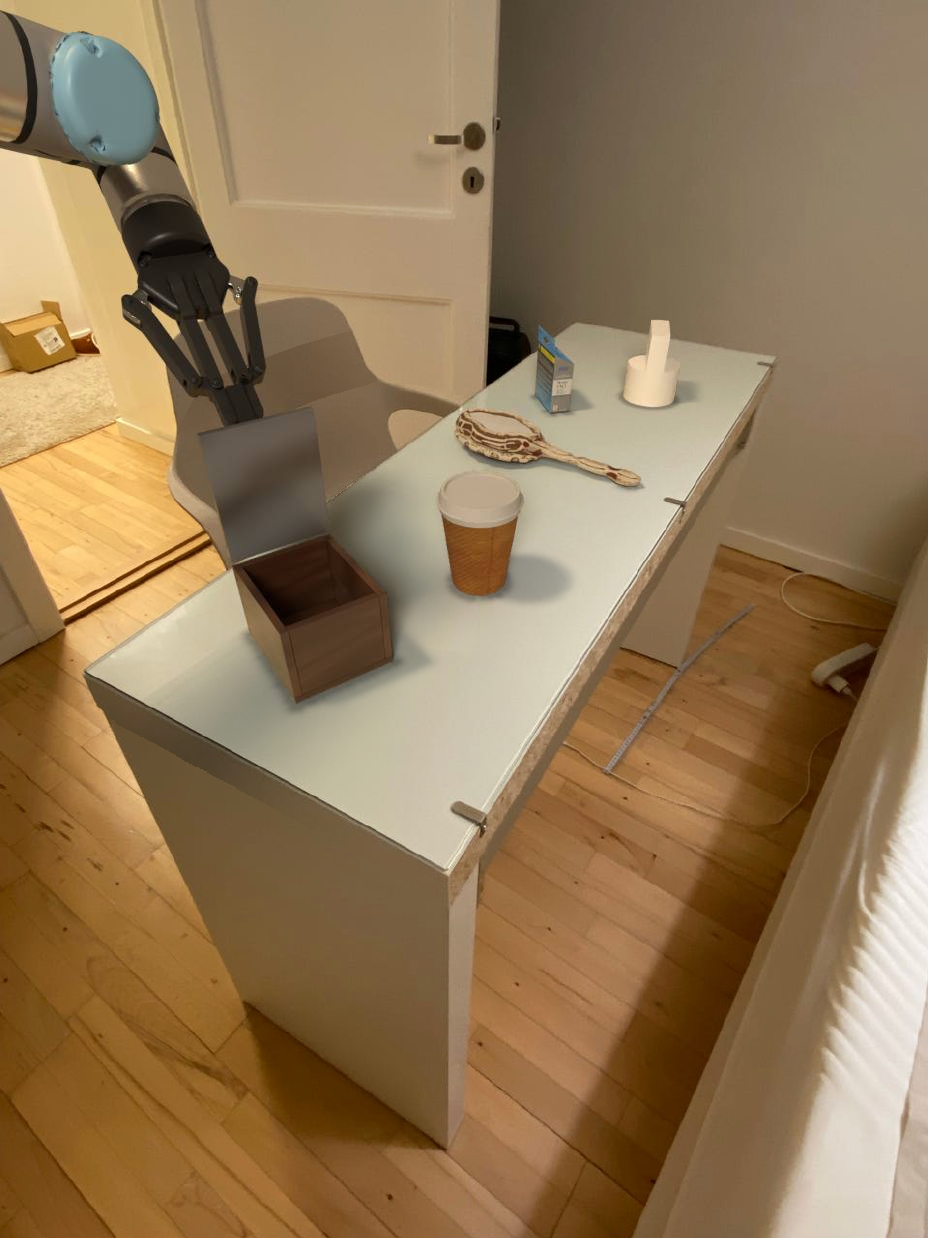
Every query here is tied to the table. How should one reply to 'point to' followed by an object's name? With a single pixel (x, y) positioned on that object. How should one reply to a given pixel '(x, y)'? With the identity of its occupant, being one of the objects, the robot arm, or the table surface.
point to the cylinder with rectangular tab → (653, 371)
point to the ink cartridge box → (553, 375)
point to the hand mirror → (522, 442)
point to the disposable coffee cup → (479, 528)
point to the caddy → (314, 615)
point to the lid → (266, 482)
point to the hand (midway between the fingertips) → (259, 454)
